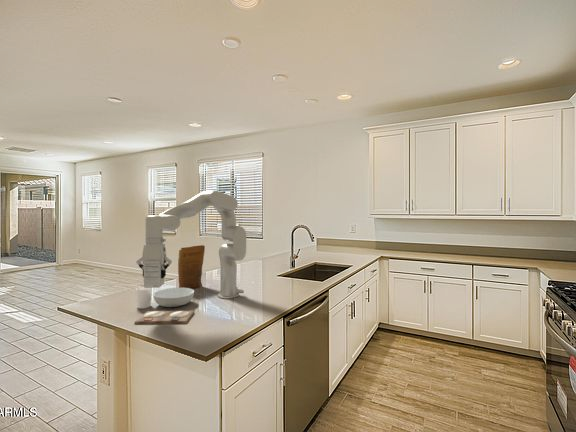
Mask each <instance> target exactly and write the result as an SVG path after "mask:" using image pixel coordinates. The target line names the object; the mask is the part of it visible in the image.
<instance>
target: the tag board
mask: <svg viewBox="0 0 576 432" xmlns="http://www.w3.org/2000/svg"><path fill="white" fill-rule="evenodd" d="M194 314H195V310H148V311H146V312H145V313H143V314H142V315H141V316H139V317H138V318H137V319H136V320H134V325H168V324H169V325H173V324H175V325H176V324H178V325H180V324H183V325H184V324H187V323H188V322H189V321H190V319H191V318H192V316H194Z"/></svg>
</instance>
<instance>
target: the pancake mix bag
mask: <svg viewBox="0 0 576 432" xmlns="http://www.w3.org/2000/svg"><path fill="white" fill-rule="evenodd" d="M205 249H206V248H205V245H203V244H202V245H201V244H200V245H193V246H192V245H191V246H188V247H181V248H180V249H179V250H178V261H177V262H178V263H177V272H178V274H177V275H178V288H189V289H192V290H194V289H199V288H201V287H202V286H203V283H202V276H203V264H204V260H205V259H204V258H205V257H204V256H205Z"/></svg>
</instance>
